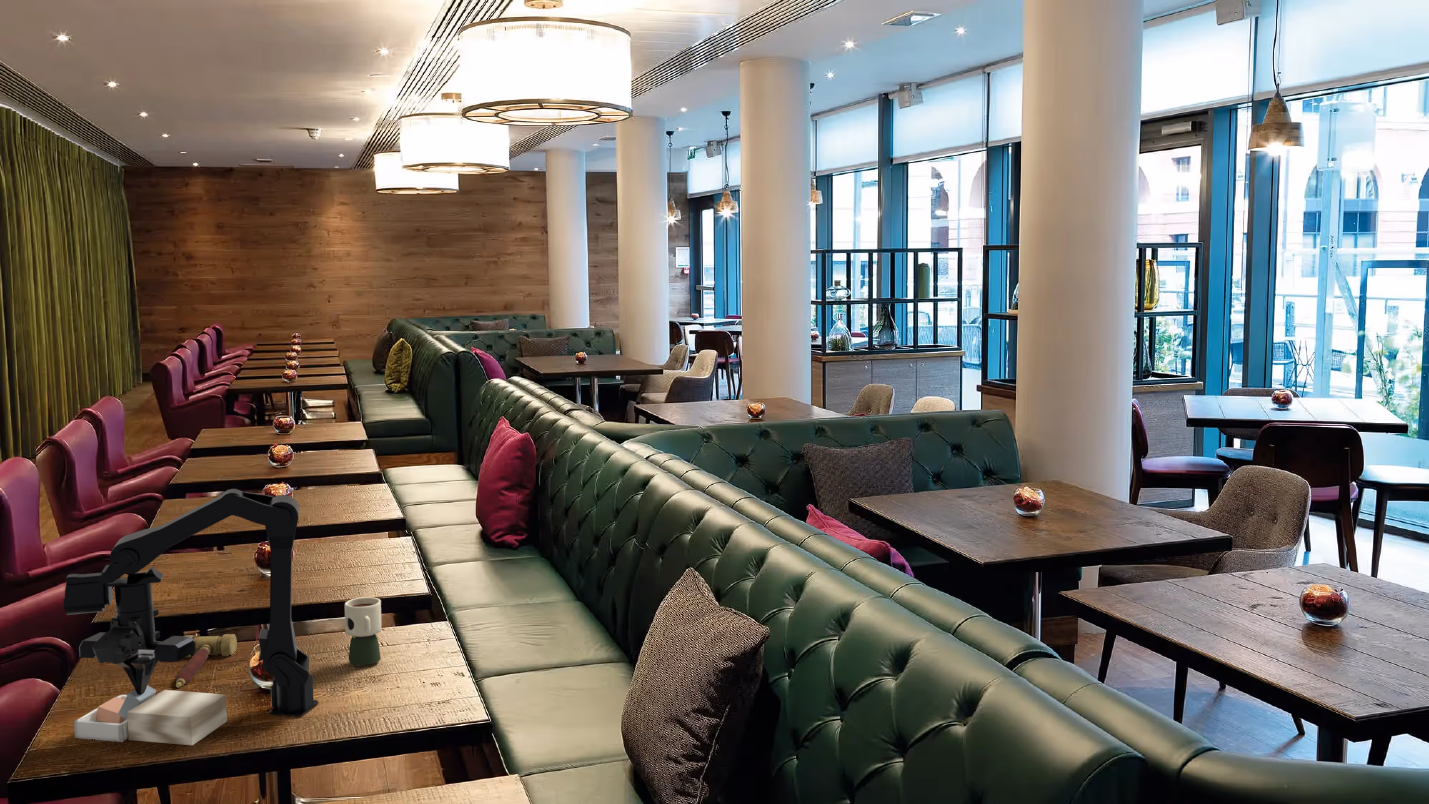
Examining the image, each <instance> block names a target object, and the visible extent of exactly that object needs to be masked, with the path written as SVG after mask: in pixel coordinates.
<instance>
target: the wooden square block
mask: <svg viewBox="0 0 1429 804" xmlns="http://www.w3.org/2000/svg"><path fill="white" fill-rule="evenodd" d="M226 699H227V697H226V694H223V693H222V694H220V693H208V692H195V691H185V690H183V691H182V690H172V689H169V690H168V689H164V690H162V691H160V692H159V693H156V694H155V695H154V696H153V697H152V698H150V699H148V700H147V701H145V702H143V703H142V704H140V705H138V706H137V707H135V708H133V709H132V710H130V711H128V712H127V720H128V736H129V738H128V741H138V742H139V741H140V742H149V743H162V744H172V745H173V744H175V745H183V746H184V745H185V746H186V745H187V746H194V745H195V744H196V743H198V742H199V741H201V740H203V739H204V738H205V737H206V736H209V735H210V734H211V733H212V732H214V731H216V729H218V728H219V727H221V726H222V725H224V724H225V723H226V722H227V721H228V717H227V716H228V715H227V714H228V713H227V700H226Z"/></svg>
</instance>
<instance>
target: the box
mask: <svg viewBox="0 0 1429 804" xmlns="http://www.w3.org/2000/svg"><path fill="white" fill-rule="evenodd" d="M127 695H128V694H120V695H118V696H117V697H118V698H121V699H124V700H125V699H126V697H127ZM97 710H98V707H97V708H95V709H93V710H91V711H90V712H88V713H87V714H85V715H83V716H81V717H79V718H77V719H76V720H74V721H73V729H74V731H73V732H74V738H75V739H80V740H91V739H93V740H94V739H95V740H94V741H104V742H105V741H106V742H115V741H116V743H123V742H124V741H126V740H129V736H128V720H126V721H124V722H122V723H121V724H117V723H105V722H102V721H99V720H96V716H97ZM93 740H92V741H93Z"/></svg>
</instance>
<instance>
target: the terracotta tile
mask: <svg viewBox="0 0 1429 804" xmlns="http://www.w3.org/2000/svg"><path fill="white" fill-rule="evenodd" d="M124 701H125V700H124V699H121V698H118V696H114V697H113V698H110V699H109V700H107V701H106V702H104V703H102V704H100V705H98V706H97V708H98V710H97V716H96V720H99V721H102V722H105V723H117V724H121V723H122V722H124V721H126V720H127V719H126V718H124V717H122V716H121V715H119V714H118V713H119V711H120V709H121V707H122V705H123V703H124Z"/></svg>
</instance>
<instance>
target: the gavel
mask: <svg viewBox="0 0 1429 804" xmlns="http://www.w3.org/2000/svg"><path fill="white" fill-rule="evenodd" d="M185 636H186V637H191V638H192V639H194V641H195V648H196V651H195V652H193V653H192V654H190V655H188V656H186V657H185V658H190V659H189V661H188V662H187V663H186V664H185V666H184V667H182V669H181V671H180V672H179V673H178V674H177V676H176V682H175V687H176V688H181V687H183V686H185V685H187V684H189V683H190V682H191V680H192V679H193V678H194V677H195V675H196V674H197V673H198V672H199V670H200V668H202V666H203V665H204V663H206V661H207V659H208V658H209V656H208V655H215V656H220V654H222V655H221V657H230V656H229V655H232V654H233V653H234V652H235V651H237V647H238V641H237V636H236V634H234V633H229V634H228V633H227V634H226V633H225V634H223V635H222V636H220V635H216V636H212V635H211V636H210V635H209V636H208V635H207V636H196V635H185ZM197 647H198V648H197ZM235 653H236V652H235ZM235 653H234V654H235ZM218 654H219V655H218ZM192 656H193V657H192ZM232 656H233V655H232ZM184 684H185V685H184Z"/></svg>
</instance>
